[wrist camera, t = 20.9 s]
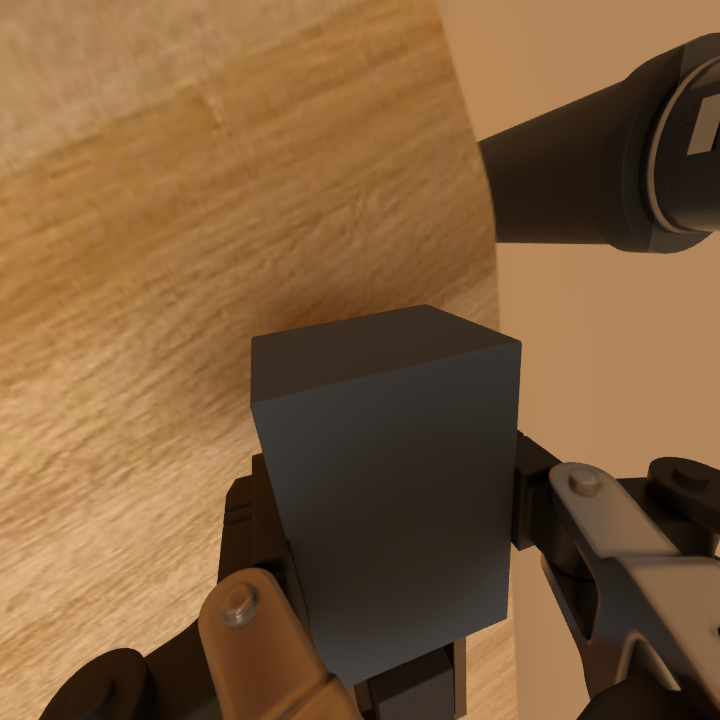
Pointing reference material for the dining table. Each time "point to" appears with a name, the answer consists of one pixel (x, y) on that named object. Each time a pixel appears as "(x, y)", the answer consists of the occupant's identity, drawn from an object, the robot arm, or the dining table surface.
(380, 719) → the dark brown rectangular block
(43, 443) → the dining table surface
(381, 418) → the pad
